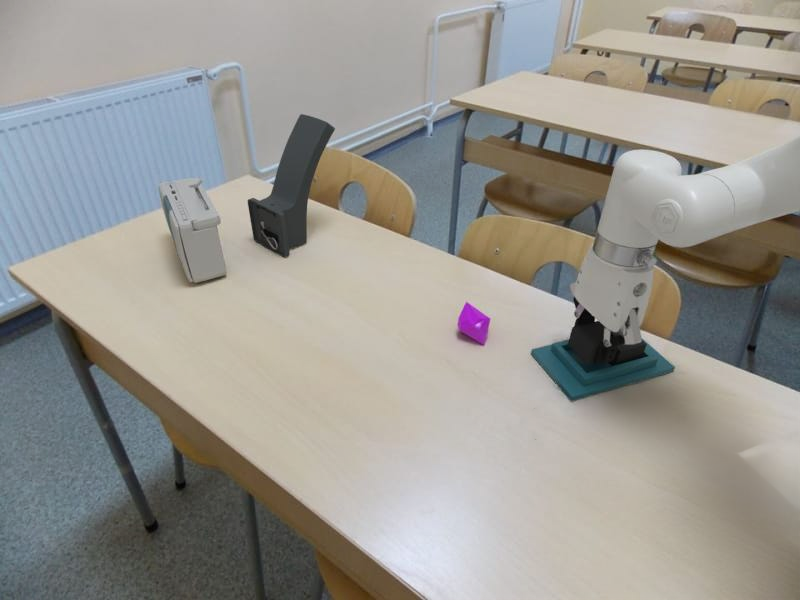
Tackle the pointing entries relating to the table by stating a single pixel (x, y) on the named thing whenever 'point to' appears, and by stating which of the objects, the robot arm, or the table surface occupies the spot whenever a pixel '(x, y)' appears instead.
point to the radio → (193, 228)
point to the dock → (596, 370)
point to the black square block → (587, 340)
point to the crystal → (473, 323)
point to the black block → (628, 352)
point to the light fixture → (290, 188)
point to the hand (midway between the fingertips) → (591, 348)
